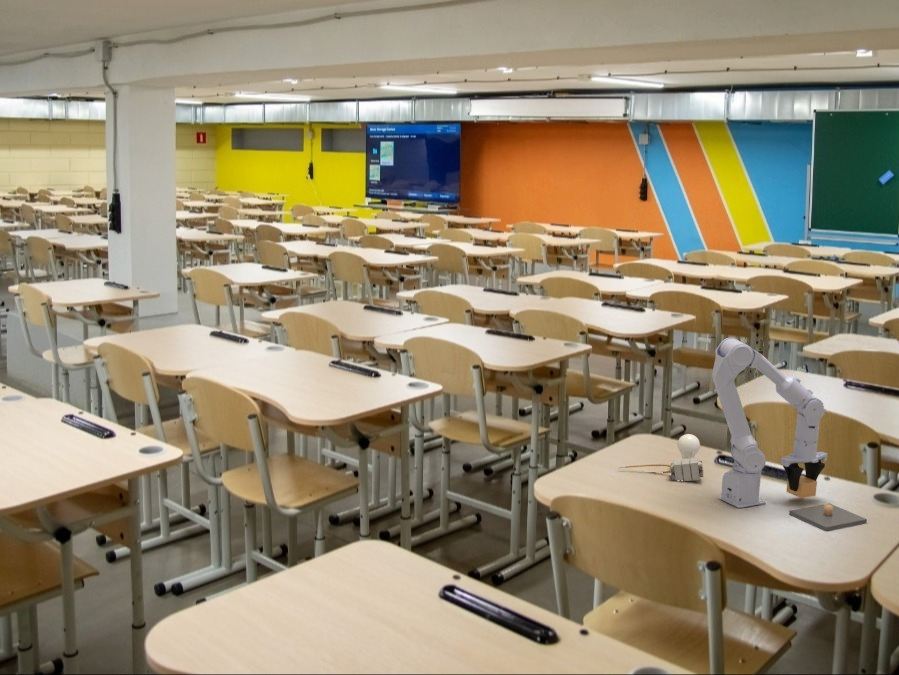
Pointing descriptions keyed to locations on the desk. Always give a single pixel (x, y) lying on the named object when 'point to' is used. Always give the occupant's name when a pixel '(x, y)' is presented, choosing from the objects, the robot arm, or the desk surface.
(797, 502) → the desk surface
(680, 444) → the lightbulb
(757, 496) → the robot arm
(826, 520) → the plate
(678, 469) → the electrical component
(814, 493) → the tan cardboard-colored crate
